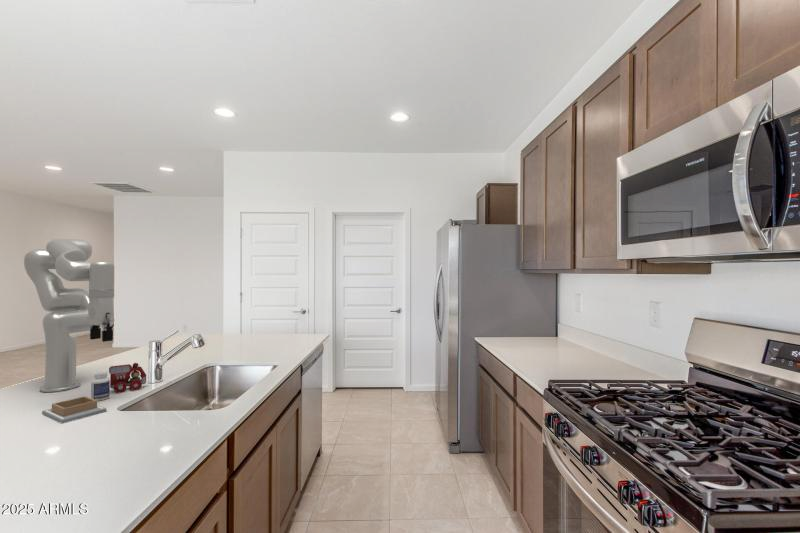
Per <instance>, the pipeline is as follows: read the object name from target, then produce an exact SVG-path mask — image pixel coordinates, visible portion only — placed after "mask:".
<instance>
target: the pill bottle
mask: <svg viewBox="0 0 800 533" xmlns="http://www.w3.org/2000/svg"><path fill="white" fill-rule="evenodd" d="M108 376H109V375H108V371H98V372H95V373H94V374H93V379H92V380H91V383H90V384H91V394H90V396H91V397H90V398H91V399H94V400H97V402H98V401H99V402H100V400H101V401H104V400H107V399H109V398H110V396H111V395H110V388H111V387H110V377H108Z"/></svg>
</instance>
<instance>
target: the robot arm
mask: <svg viewBox="0 0 800 533" xmlns="http://www.w3.org/2000/svg"><path fill="white" fill-rule="evenodd" d="M92 254H93V249H92V246H91V243H90V242H88V241H86V240H84V239H71V238H54V239H52V240H50V241H49V242H47V244H46V247H45V248H44V249H41V248H40V249H33V250H30V251H28V252H27V253H25V255H24V258H23V266H24V270H25V272H26V274H27V276H28V277H29V279H30V280H31V282H32V283H33V285H34V286H35V289H36V292H37V295H38V298H39V302H40V304H41V306H42V308H43V310H45V311H46V312H48V313H46V315H44V317H43V318H42V328H43V332H44V341H45V360H44V361H45V362H44V363H45V368H44V369H45V370H44V371H45V373H44V374H45V378H44V385H42V386H41V387H40V388H39V392H41V393H55V392H62V391H69V390H72V389H75V388H78V387H80V386H81V384H82V383H81V381H79V380H77V342H76V341H75V338H73V337H72V336H71V335H70V334H74V333H81V332H89V339H90V340H97V339H98V340H99V339H101V342H103V343H104V342H105V343H106V342H112V341H113V340H114V337H113V336H114V326H115V324H114V323H115V318H114V317H115V313H114V312H115V311H114V300H113V299H114V298H115V264H114V263H113V262H110V261H89V259H90V257H91V256H92ZM50 270H55V272H56V274H55V273H54V272H53V271H50ZM62 279H63V280H65V281H69V282H88V291H87V290H86V289H83V288H66V287H65V286H64V285H63V284H64V283H63V280H62ZM101 329H103V330H101ZM101 333H102V334H101Z"/></svg>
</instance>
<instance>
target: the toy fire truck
mask: <svg viewBox="0 0 800 533" xmlns="http://www.w3.org/2000/svg"><path fill="white" fill-rule="evenodd" d="M108 373H109V376H110V377H109V379H110V388H111V390H112V389H113V391H114V392H115V393H118V394H121V393H123V392H125V391H127V390H126V389H127V387H129V388H130V390H131V391H138V390H139V389H141V388H142V386H143V385H146V383H147V374H146V372H145V370H144V369H143V367H142V366H140V365H139V363H137V362H134V363H133V364H132V365H131V364H120V365H119V364H118V365H111V366H110V367H109V368H108Z"/></svg>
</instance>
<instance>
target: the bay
mask: <svg viewBox="0 0 800 533" xmlns="http://www.w3.org/2000/svg"><path fill="white" fill-rule="evenodd" d="M105 412H106V413H107V408H106V407H104V406H102V405H101V406H100V405H98V401H97V400H94V399H91V397H88V396H87V395H86V396H81V397H77V398H71V399H66V400H63V401H58V402H55V403H52V404H51V408H48V409H44V410H42V411H41V414H42V415H44V416H46V417H48V418H49V419H51V420H54V421H56V422H57V423H60V422H61V424H65V423H69V422H72V420H73V421H76V419H77V420H80V419H85V418H86V417H87V418H88V417H90V416H94V415H98V414H101V413H105ZM68 421H69V422H68ZM64 422H65V423H64Z"/></svg>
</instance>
